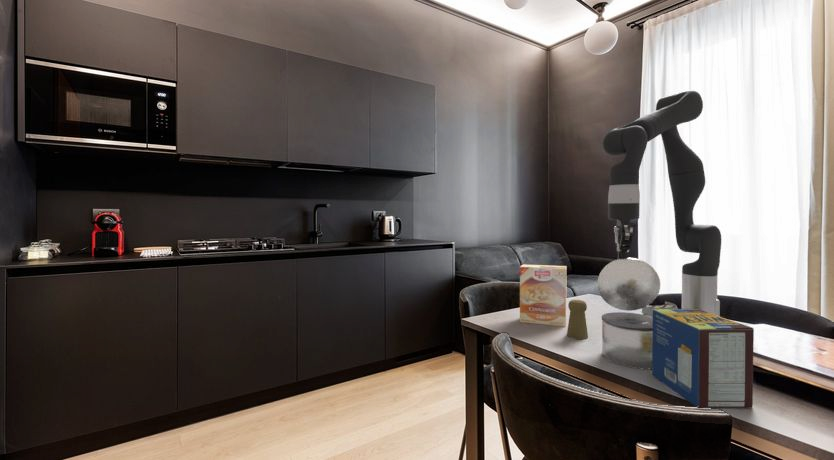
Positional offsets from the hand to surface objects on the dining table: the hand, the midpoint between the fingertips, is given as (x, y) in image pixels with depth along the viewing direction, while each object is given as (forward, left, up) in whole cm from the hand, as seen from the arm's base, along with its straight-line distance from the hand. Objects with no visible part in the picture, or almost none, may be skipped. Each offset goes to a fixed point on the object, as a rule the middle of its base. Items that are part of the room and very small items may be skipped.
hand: (622, 265), depth 104 cm
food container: (-13, -12, -23) cm, 29 cm away
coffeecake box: (+21, -21, -23) cm, 37 cm away
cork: (+11, -8, -23) cm, 27 cm away
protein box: (-10, +23, -23) cm, 34 cm away
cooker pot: (-1, +7, -23) cm, 24 cm away
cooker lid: (-1, +1, -5) cm, 6 cm away
